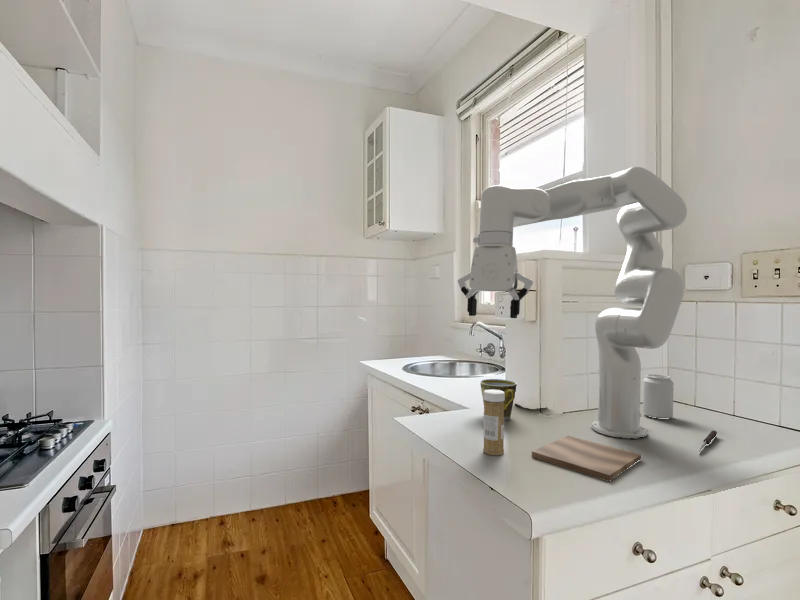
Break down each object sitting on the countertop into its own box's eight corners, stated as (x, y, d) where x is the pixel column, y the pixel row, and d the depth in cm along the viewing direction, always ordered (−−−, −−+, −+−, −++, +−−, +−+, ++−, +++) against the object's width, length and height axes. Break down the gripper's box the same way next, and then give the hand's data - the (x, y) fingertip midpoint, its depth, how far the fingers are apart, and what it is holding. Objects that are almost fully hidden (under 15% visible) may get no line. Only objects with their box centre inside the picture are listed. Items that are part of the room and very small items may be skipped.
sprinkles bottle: (508, 453, 93) (509, 391, 92) (493, 457, 90) (494, 394, 90) (493, 447, 96) (493, 387, 96) (478, 451, 94) (479, 390, 94)
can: (679, 420, 119) (679, 378, 119) (652, 420, 119) (652, 377, 119) (662, 413, 127) (663, 373, 127) (637, 413, 127) (638, 372, 127)
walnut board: (567, 440, 101) (567, 435, 101) (641, 460, 89) (641, 454, 89) (531, 456, 91) (531, 451, 91) (609, 481, 79) (609, 475, 79)
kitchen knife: (711, 437, 106) (712, 429, 106) (716, 438, 105) (717, 430, 105) (695, 456, 93) (695, 447, 93) (700, 457, 92) (701, 448, 92)
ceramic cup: (473, 414, 124) (474, 379, 124) (504, 411, 127) (504, 378, 127) (497, 427, 111) (497, 389, 111) (529, 424, 114) (530, 387, 114)
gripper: (454, 240, 98) (450, 315, 98) (530, 238, 90) (526, 319, 90) (466, 245, 105) (463, 314, 105) (538, 243, 96) (535, 318, 96)
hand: (492, 316), depth 97 cm, fingers open, 9 cm apart
